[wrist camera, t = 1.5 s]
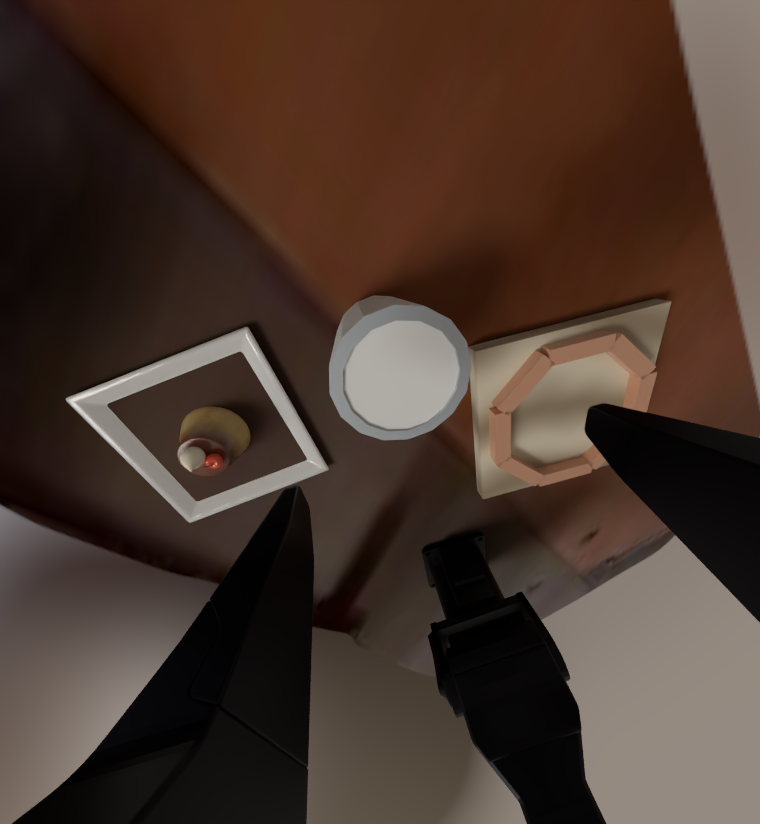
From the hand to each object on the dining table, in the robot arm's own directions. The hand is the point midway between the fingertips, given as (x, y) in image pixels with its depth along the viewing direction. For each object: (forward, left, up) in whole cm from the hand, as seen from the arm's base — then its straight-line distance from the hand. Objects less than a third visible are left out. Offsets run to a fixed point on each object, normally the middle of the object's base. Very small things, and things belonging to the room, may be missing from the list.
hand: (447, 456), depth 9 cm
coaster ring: (-9, -13, -12) cm, 20 cm away
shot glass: (0, 0, -13) cm, 13 cm away
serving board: (-9, -13, -13) cm, 20 cm away
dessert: (-4, +13, -14) cm, 19 cm away
